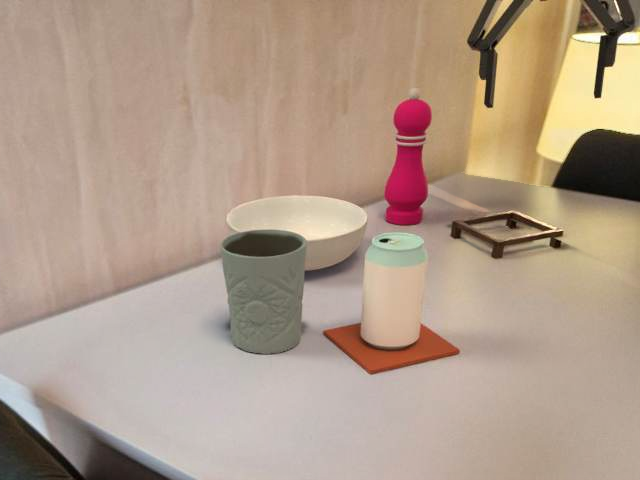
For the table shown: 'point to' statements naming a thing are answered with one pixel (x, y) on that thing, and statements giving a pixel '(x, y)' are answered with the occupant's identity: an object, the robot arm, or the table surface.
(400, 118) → the pepper mill
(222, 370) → the table surface
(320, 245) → the serving bowl
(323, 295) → the table surface
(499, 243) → the square trivet stand
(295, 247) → the grey ceramic cup
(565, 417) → the table surface
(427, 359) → the mat
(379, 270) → the can
